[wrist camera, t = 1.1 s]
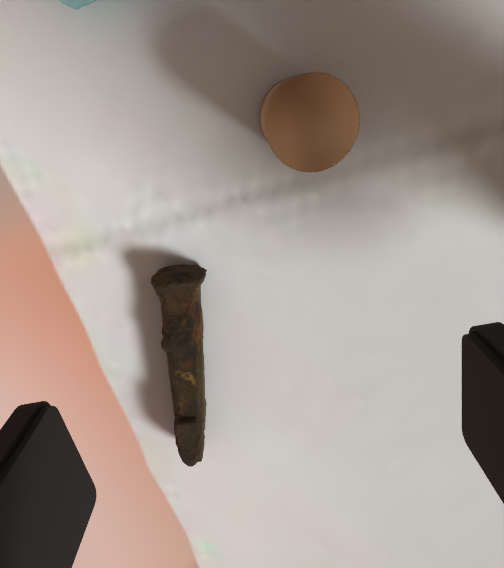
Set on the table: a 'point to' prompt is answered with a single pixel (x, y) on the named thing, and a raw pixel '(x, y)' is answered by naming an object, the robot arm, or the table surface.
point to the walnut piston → (310, 121)
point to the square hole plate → (76, 3)
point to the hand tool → (184, 353)
